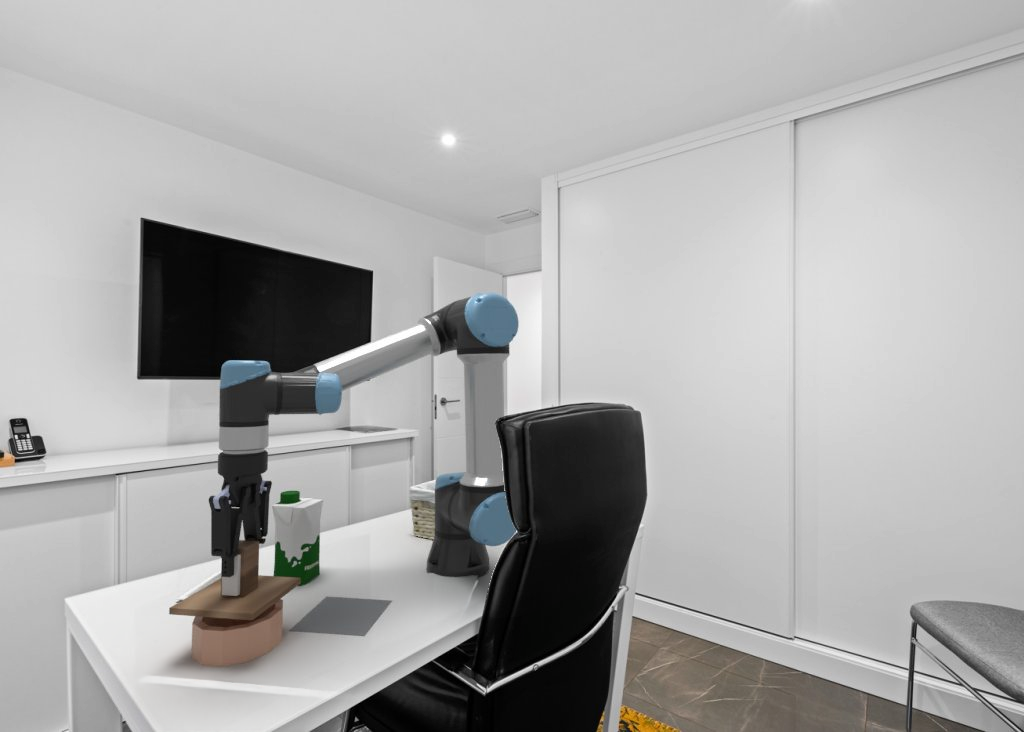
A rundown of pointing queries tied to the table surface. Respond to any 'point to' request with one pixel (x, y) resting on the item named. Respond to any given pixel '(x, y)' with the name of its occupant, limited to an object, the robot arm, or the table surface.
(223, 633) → the bowl
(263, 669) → the table surface
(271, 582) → the cover board
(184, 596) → the touchpad
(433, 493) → the storage basket
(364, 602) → the mat
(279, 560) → the milk carton
